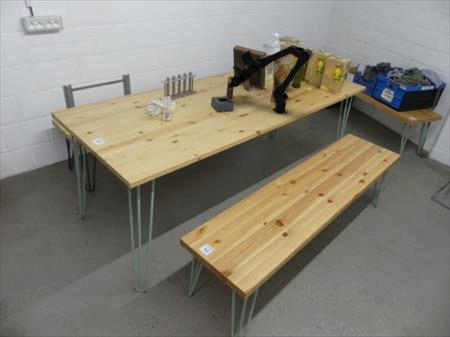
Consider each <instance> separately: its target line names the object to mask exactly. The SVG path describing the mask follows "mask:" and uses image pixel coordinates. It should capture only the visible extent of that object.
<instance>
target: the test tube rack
mask: <svg viewBox="0 0 450 337" xmlns="http://www.w3.org/2000/svg"><path fill="white" fill-rule="evenodd" d="M171 77H172V78H170V77H169V76H166V79H164V80H161V81H160V82H161V83H163V86H164V88H163V89H164V90H163V91H164V92H163V94H164V95H163V97H165V96H170V97H171V98H172V99H171V100H174V99H178V98H181V97H184V96H187V95H191V94H194V93H197V91H196V90H194V78H195V77H197V74H194V73H192V71H188V74H187V72H184V73H183V75H182V74H180V73H179V74H177V76H176V75H172V76H171ZM187 79H188V88H187ZM176 82H177V93H176ZM181 82H182V83H181ZM170 84H172V85H171V88H172V89H171V90H172V91H171V93H172V94H170ZM181 84H182V85H181ZM181 86H182V87H181ZM181 88H182V89H181ZM181 90H182V91H181Z"/></svg>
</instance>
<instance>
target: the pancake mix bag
mask: <svg viewBox="0 0 450 337" xmlns="http://www.w3.org/2000/svg"><path fill="white" fill-rule="evenodd" d="M290 60H291V54H289V55H286V56H284V57H282V58H280V59H278V60H275V61H273V74H272V78H273V86H272V91H271V97H270V103H274V104H276V103H275V98H274V97H273V92H274V91H273V90H275V88H276V86H277V85H278V84H279V83H281V84H282V83H283V82H284V80H285V79H286V77H287V76H288V74H289V73H290V67H291V61H290ZM286 94H287V95H288V91H287V92H286Z"/></svg>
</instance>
